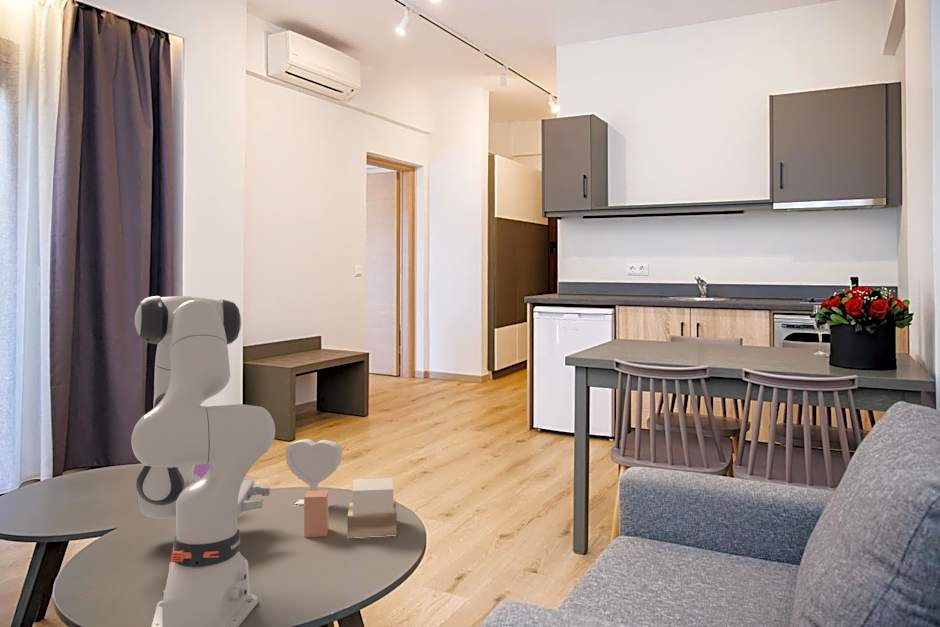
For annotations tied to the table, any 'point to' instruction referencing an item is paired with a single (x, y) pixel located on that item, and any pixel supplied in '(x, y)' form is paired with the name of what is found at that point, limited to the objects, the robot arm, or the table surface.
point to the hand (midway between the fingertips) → (266, 497)
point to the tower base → (372, 523)
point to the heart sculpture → (313, 461)
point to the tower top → (372, 496)
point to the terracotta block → (316, 513)
